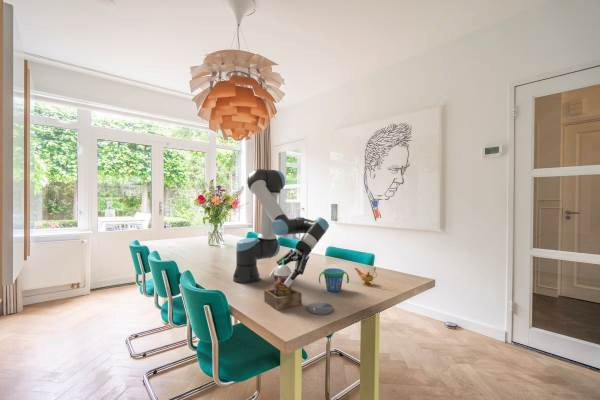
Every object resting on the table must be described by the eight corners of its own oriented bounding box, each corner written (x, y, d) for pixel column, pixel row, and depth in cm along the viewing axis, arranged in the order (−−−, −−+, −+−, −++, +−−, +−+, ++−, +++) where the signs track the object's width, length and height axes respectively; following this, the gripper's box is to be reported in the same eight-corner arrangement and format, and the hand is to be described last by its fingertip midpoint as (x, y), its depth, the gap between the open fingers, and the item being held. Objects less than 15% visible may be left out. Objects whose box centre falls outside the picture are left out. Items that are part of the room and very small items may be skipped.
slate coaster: (306, 314, 114) (306, 311, 114) (307, 304, 125) (307, 301, 125) (333, 315, 113) (333, 312, 113) (332, 305, 124) (332, 302, 124)
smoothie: (277, 307, 121) (278, 261, 121) (270, 301, 128) (270, 257, 128) (294, 304, 125) (295, 259, 125) (287, 298, 132) (287, 256, 132)
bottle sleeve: (277, 310, 118) (277, 298, 118) (264, 301, 128) (264, 290, 128) (301, 304, 125) (301, 293, 125) (287, 296, 135) (287, 285, 135)
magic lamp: (359, 278, 166) (359, 260, 166) (381, 287, 150) (381, 266, 150) (349, 280, 163) (350, 261, 163) (371, 289, 147) (371, 268, 147)
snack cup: (319, 293, 140) (319, 273, 140) (318, 286, 150) (318, 267, 150) (350, 293, 139) (350, 273, 139) (347, 287, 150) (347, 268, 150)
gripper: (326, 254, 125) (298, 294, 116) (296, 246, 145) (270, 279, 137) (317, 243, 122) (287, 283, 113) (287, 236, 142) (260, 270, 134)
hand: (278, 281), depth 125 cm, fingers open, 13 cm apart
